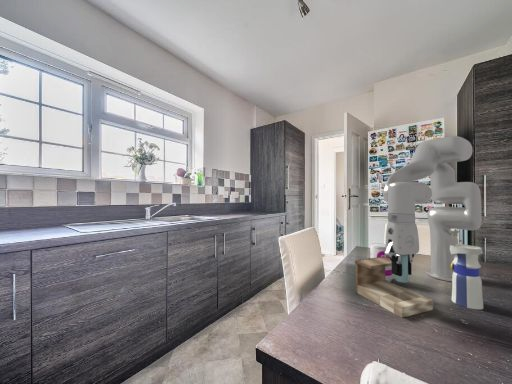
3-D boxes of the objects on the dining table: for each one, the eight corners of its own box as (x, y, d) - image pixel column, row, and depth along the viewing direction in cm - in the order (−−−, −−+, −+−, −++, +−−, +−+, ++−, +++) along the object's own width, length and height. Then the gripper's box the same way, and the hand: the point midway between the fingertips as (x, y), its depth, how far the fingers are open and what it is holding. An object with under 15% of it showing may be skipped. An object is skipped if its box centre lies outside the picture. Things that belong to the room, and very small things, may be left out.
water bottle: (444, 300, 74) (443, 228, 75) (457, 295, 78) (456, 227, 78) (475, 312, 67) (474, 232, 67) (489, 306, 70) (487, 230, 71)
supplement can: (395, 284, 88) (395, 247, 88) (374, 282, 90) (373, 246, 90) (387, 276, 96) (387, 243, 96) (367, 275, 98) (367, 242, 98)
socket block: (383, 286, 85) (382, 256, 85) (433, 309, 68) (432, 271, 68) (355, 292, 81) (355, 260, 81) (401, 317, 64) (401, 277, 64)
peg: (410, 281, 69) (410, 251, 70) (402, 283, 68) (402, 251, 69) (400, 278, 73) (399, 248, 73) (392, 279, 72) (392, 249, 72)
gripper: (393, 220, 65) (393, 281, 64) (430, 219, 70) (430, 275, 70) (372, 218, 72) (372, 273, 71) (407, 217, 77) (407, 268, 77)
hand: (401, 273), depth 71 cm, fingers closed on peg, 3 cm apart
